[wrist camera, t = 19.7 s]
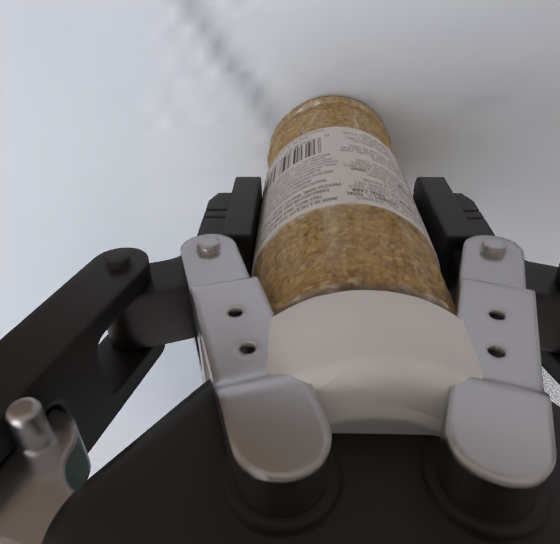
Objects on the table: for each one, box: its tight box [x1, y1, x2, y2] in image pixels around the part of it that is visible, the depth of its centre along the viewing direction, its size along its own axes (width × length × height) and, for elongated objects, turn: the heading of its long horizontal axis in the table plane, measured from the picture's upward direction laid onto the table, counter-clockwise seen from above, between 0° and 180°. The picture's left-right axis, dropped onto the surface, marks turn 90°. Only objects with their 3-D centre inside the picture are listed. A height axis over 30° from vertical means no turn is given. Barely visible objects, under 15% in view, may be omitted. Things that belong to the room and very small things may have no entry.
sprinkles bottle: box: [251, 96, 483, 436], centre depth 13 cm, size 5×5×13 cm
